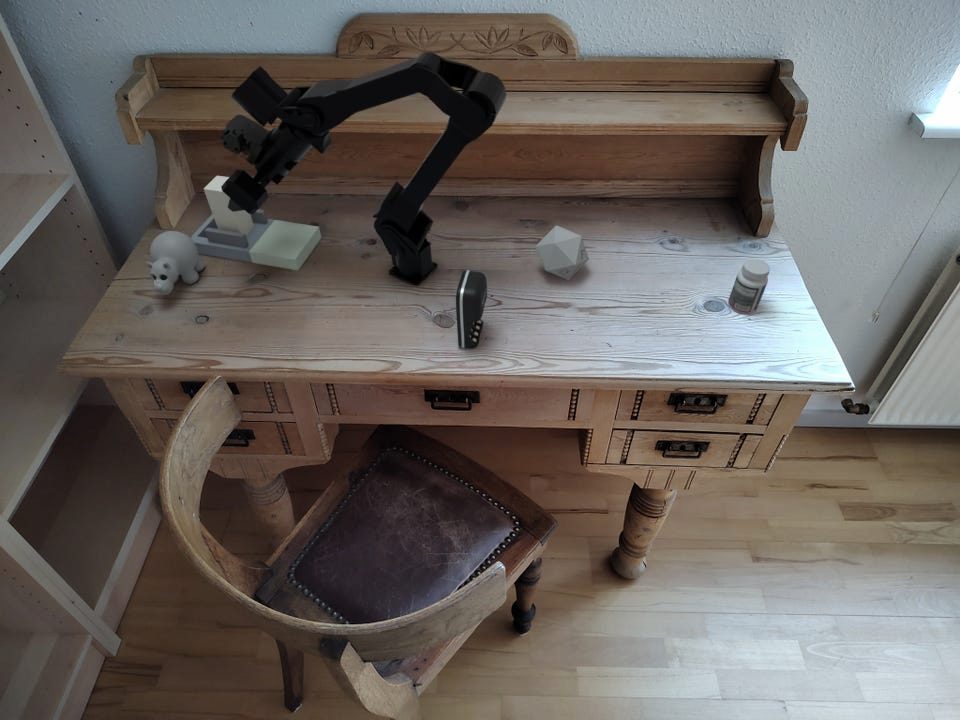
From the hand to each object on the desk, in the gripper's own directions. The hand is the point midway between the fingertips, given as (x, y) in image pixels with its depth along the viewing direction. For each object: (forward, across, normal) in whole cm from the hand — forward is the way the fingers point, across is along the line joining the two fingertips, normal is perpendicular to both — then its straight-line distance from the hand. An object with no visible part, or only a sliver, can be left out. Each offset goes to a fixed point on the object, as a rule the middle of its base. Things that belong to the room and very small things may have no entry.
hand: (243, 194), depth 115 cm
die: (-32, -6, +47) cm, 57 cm away
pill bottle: (-54, -5, +69) cm, 87 cm away
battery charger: (-24, +13, +39) cm, 48 cm away
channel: (+8, 0, +7) cm, 11 cm away
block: (+9, 0, +3) cm, 9 cm away
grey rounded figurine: (+14, +14, +2) cm, 20 cm away
